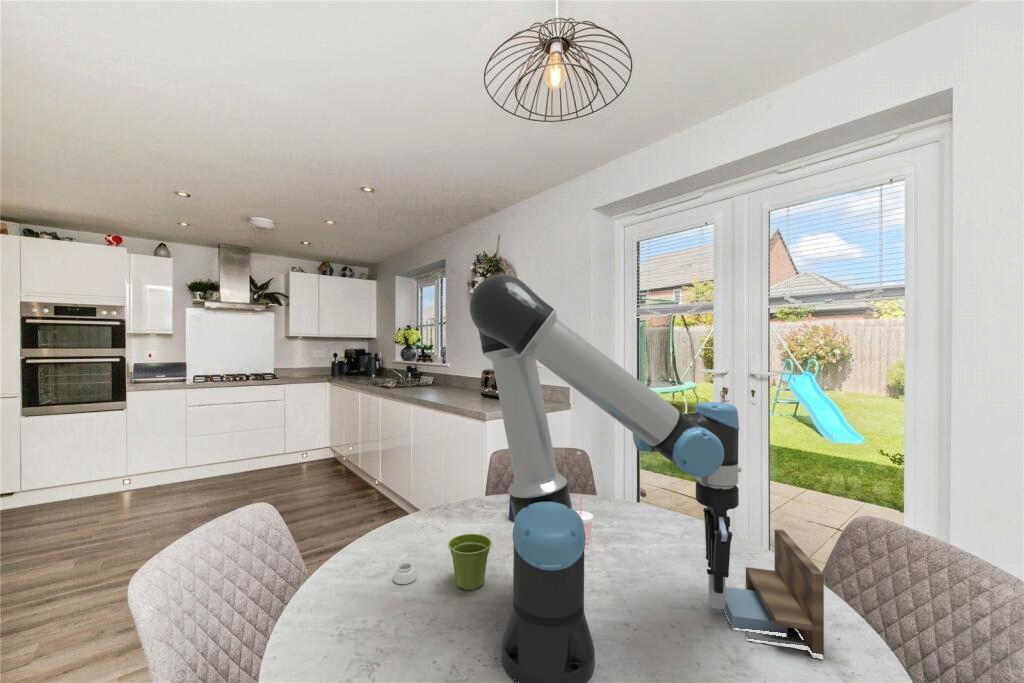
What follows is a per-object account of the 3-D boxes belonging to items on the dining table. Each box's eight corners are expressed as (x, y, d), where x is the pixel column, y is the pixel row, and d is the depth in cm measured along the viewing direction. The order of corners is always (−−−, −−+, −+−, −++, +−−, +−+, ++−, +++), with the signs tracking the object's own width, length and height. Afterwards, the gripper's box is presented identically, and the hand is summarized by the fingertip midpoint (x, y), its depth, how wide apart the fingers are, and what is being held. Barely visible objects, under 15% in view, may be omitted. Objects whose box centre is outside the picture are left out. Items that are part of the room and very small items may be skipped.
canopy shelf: (823, 660, 71) (823, 574, 71) (749, 648, 73) (750, 565, 74) (783, 598, 88) (783, 529, 88) (724, 590, 91) (724, 524, 91)
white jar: (389, 584, 92) (410, 587, 91) (389, 570, 92) (410, 573, 91) (399, 572, 97) (420, 575, 96) (399, 559, 97) (420, 562, 96)
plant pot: (450, 598, 87) (451, 555, 87) (445, 574, 96) (445, 535, 96) (495, 592, 90) (496, 550, 90) (486, 569, 99) (486, 531, 99)
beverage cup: (598, 554, 106) (598, 497, 107) (576, 559, 104) (576, 500, 104) (584, 544, 112) (585, 490, 112) (564, 548, 110) (564, 492, 110)
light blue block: (787, 640, 76) (787, 623, 76) (732, 632, 78) (732, 615, 78) (766, 607, 86) (766, 591, 86) (717, 600, 88) (718, 586, 88)
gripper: (747, 495, 76) (748, 630, 76) (729, 474, 89) (729, 590, 88) (702, 492, 78) (702, 623, 78) (690, 472, 91) (690, 585, 90)
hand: (716, 605), depth 83 cm, fingers closed
